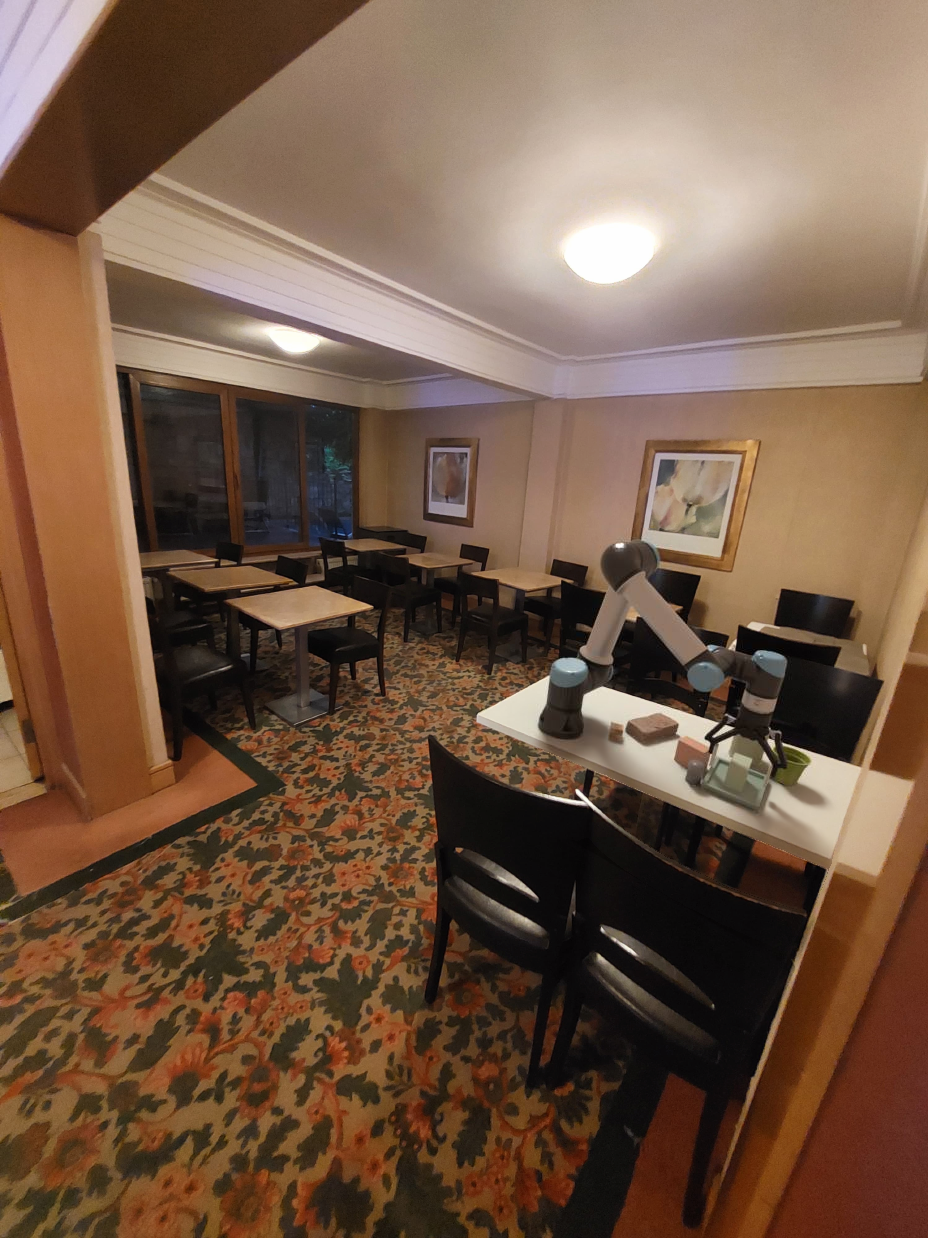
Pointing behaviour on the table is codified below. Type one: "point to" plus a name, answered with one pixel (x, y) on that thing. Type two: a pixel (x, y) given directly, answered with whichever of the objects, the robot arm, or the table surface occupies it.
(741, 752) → the can
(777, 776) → the plant pot
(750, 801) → the tray
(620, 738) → the oak block
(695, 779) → the grey canister
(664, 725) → the brick
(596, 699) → the table surface
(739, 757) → the sage block
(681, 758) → the terracotta block
